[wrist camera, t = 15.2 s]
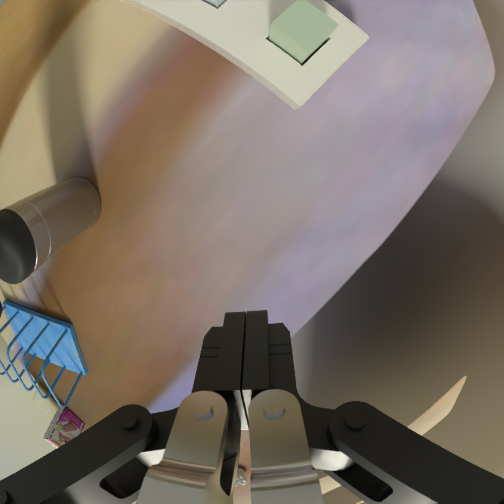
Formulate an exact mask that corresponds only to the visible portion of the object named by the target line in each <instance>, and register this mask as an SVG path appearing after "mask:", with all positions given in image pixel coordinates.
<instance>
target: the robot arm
mask: <svg viewBox="0 0 504 504" xmlns="http://www.w3.org/2000/svg"><path fill="white" fill-rule="evenodd" d="M100 211H101V202H100V197H99V194H98V191H97V189H96V188H95V186H94V185H93V184H92V183H91V182H90V181H89V180H87V179H85V178H83V177H73V178H70V179H68V180H65V181H63V182H60V183H58V184H55V185H53V186H51V187H48V188H46V189H44V190H41V191H39V192H37V193H35V194H33V195H30V196H28V197H26V198H24V199H22V200H20V201H18V202H16V203H14V204H12V205H10V206H8V207H6V208H4V209H2V210H0V279H1V280H3V281H5V282H7V283H10V284H18V283H20V282H22V281H23V280H25V279H26V278H27V277H28V276H29V275H30V274H32V273H33V272H34V271H35V270H36V269H37V268H38V267H40V266H41V265H42V264H43V263H44V262H45V261H47V260H48V259H49V258H50V257H52V256H53V255H54V254H55V253H56V252H58V251H59V250H60V249H62V248H63V247H64V246H65V245H67V244H68V243H69V242H70V241H72V240H73V239H74V238H76V237H77V236H78V235H80V234H81V233H83V232H84V231H85V230H87V229H88V228H89V227H91V226H92V225H93V224H94V223H95V222H96V221H97V220H98V217H99V215H100ZM1 314H2V304H1V302H0V317H1ZM241 430H249V437H250V453H251V470H252V473H251V479H250V487H251V503H252V504H324V502H323V498H322V492H321V487H320V483H319V478H318V475H317V472H316V469H315V468H317V469H322V470H323V471H324V472H325V473H326V474H328V475H329V476H330V477H332V478H333V479H334V480H335V481H337V482H338V483H339V484H341V485H342V486H343V487H345V488H346V489H348V490H349V491H350V492H352V493H353V494H354V495H356V496H357V497H359V498H360V499H362V500H363V501H364V502H366V503H368V504H504V479H503V478H501V477H499V476H497V475H495V474H493V473H491V472H488V471H486V470H484V469H482V468H480V467H478V466H476V465H474V464H472V463H470V462H468V461H466V460H464V459H462V458H461V457H458V456H457V455H455V454H453V453H451V452H449V451H447V450H446V449H444V448H442V447H440V446H438V445H436V444H435V443H433V442H431V441H429V440H428V439H426V438H424V437H422V436H421V435H419V434H417V433H416V432H414V431H412V430H411V429H409V428H407V427H405V426H404V425H402V424H400V423H399V422H397V421H395V420H394V419H392V418H391V417H389V416H387V415H386V414H384V413H382V412H381V411H379V410H378V409H376V408H375V407H373V406H371V405H370V404H368V403H365V402H360V401H353V402H347V403H344V404H342V405H340V406H339V407H337V408H336V409H335V410H334V409H327V408H319V407H315V406H312V405H310V404H308V403H306V402H305V401H304V400H303V399H302V398H301V397H300V396H299V394H298V392H297V388H296V380H295V371H294V363H293V354H292V346H291V338H290V332H289V330H288V329H287V328H286V327H285V325H284V324H283V323H275V324H268V314H267V310H261V311H247V314H246V312H228V313H225V318H224V324H223V327H212V328H211V329H210V330H209V331H208V333H207V334H206V335H205V336H204V340H203V344H202V349H201V353H200V358H199V362H198V366H197V371H196V375H195V380H194V385H193V389H192V393H191V394H190V395H188V396H187V397H186V398H185V399H184V400H183V401H182V402H181V404H180V406H179V407H177V408H175V409H172V410H169V411H163V412H158V413H152V414H150V412H149V411H148V410H147V409H146V408H144V407H142V406H140V405H134V404H131V405H126V406H123V407H121V408H119V409H117V410H116V411H114V412H113V413H111V414H110V415H108V416H107V417H105V418H104V419H102V420H101V421H99V422H98V423H96V424H95V425H93V426H92V427H90V428H89V429H87V430H86V431H84V432H82V433H81V434H79V435H78V436H76V437H75V438H73V439H71V440H70V441H68V442H67V443H65V444H63V445H62V446H60V447H58V448H57V449H55V450H54V451H52V452H50V453H49V454H47V455H45V456H43V457H42V458H40V459H38V460H37V461H35V462H33V463H32V464H30V465H28V466H26V467H25V468H23V469H21V470H19V471H17V472H16V473H14V474H12V475H10V476H8V477H7V478H5V479H3V480H1V481H0V504H131V503H133V502H135V501H136V500H137V502H136V504H234V503H233V495H234V488H235V482H236V475H237V469H238V462H239V455H240V437H241Z"/></svg>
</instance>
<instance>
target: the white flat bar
mask: <svg viewBox="0 0 504 504" xmlns="http://www.w3.org/2000/svg"><path fill="white" fill-rule="evenodd" d="M120 1H122V2H125V3H127V4H129V5H131V6H134V7H136V8H138V9H140V10H142V11H144V12H146V13H149V14H151V15H153V16H155V17H157V18H159V19H161V20H162V21H164V22H166V23H168V24H170V25H172V26H174V27H176V28H177V29H179V30H181V31H183V32H184V33H186V34H188V35H190V36H191V37H193V38H195V39H196V40H198V41H200V42H201V43H203V44H205V45H206V46H208V47H209V48H211V49H213V50H214V51H216V52H217V53H219V54H220V55H222V56H223V57H225V58H226V59H228V60H229V61H231V62H232V63H234V64H235V65H237V66H238V67H240V68H241V69H242V70H244V71H245V72H247V73H248V74H249V75H251V76H252V77H253V78H255V79H256V80H257V81H259V82H260V83H261V84H263V85H264V86H265V87H267V88H268V89H269V90H271V91H272V92H273V93H274V94H276V95H277V96H278V97H279V98H281V99H282V100H283V101H284V102H286V103H287V104H288V105H289V106H291V107H292V108H293V109H294V110H295V109H297V108H299V107H301V106H302V105H303V104H304V103H305V102H306V101H307V100H308V99H309V98H310V96H311V95H312V94H313V93H314V92H315V91H316V90H317V89H318V88H319V87H320V86H321V85H322V84H323V83H324V82H325V81H326V80H327V79H328V78H329V77H330V76H331V75H332V74H333V73H334V72H335V71H336V70H337V69H338V68H339V67H340V66H341V65H342V64H343V63H344V62H345V61H346V60H347V59H348V58H349V57H350V56H351V55H352V54H353V53H354V52H355V51H356V50H357V49H358V48H359V47H360V46H361V45H362V44H363V43H364V42H366V41H367V40H368V39H369V38H370V37H369V36H368V35H366V34H365V33H364V32H363V31H362V30H361V29H360V28H358V27H357V26H356V25H355V24H354V23H353V22H351V21H350V20H349V19H348V18H347V17H345V16H344V15H343V14H342V13H340V11H339V10H337V9H336V8H335V7H333V6H332V5H331V4H329V3H328V2H327V1H325V0H306V1H308V2H309V3H311V4H312V5H314V6H315V7H316V8H318V9H319V10H320V11H322V12H323V13H325V14H326V15H327V16H328V17H330V18H331V19H332V20H334V21H335V22H336V23H337V24H339V25H338V27H337V28H336V29H335V30H334V31H333V32H332V34H331V35H330V36H329V37H328V38H327V40H326V41H325V42H324V43H323V44H322V46H321V47H320V48H319V49H318V50H317V51H316V52H315V53H314V54H313V55H312V56H311V57H310V58H309V59H308V60H307V61H306V62H305V63H304V64H303V65H301V64H299V63H298V62H297V61H295V60H294V59H293V58H292V57H290V56H289V55H288V54H286V53H285V52H284V51H282V50H281V49H280V48H278V47H277V46H275V45H274V44H273V43H271V42H270V41H269V34H270V26H271V23H272V22H273V21H274V20H275V19H276V18H277V17H278V16H280V15H281V14H282V13H283V12H284V11H285V10H286V9H288V8H289V7H290V6H291V5H292V4H293V3H295V2H296V1H297V0H227V1H226V2H225V3H223V4H222V5H221V6H220V7H219V8H218V9H217V8H215V7H214V6H212V5H210V4H208V3H206V2H204V1H202V0H120Z"/></svg>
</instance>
